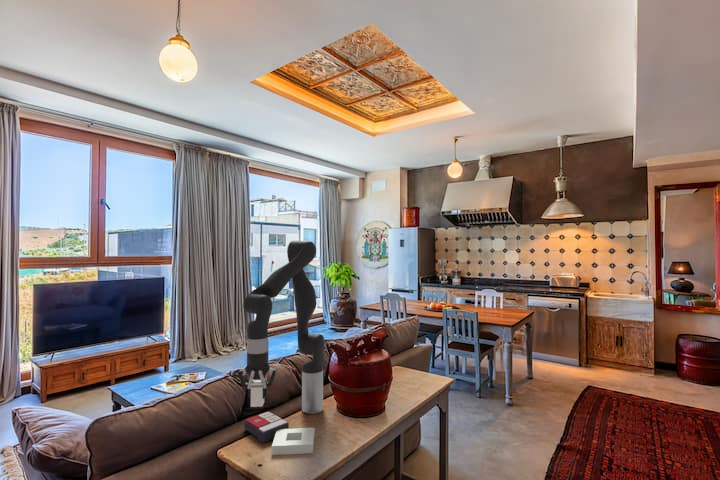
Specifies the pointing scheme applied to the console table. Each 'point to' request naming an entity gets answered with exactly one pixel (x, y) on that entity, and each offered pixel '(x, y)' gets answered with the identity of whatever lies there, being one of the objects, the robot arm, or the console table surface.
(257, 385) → the white rectangular block
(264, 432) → the dark grey product box
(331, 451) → the console table surface
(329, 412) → the console table surface
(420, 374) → the console table surface
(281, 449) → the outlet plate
